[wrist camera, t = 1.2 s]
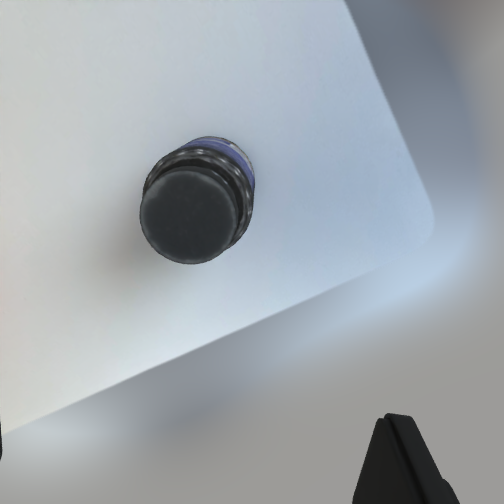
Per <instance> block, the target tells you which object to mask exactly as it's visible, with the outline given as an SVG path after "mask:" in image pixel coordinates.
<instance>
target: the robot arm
mask: <svg viewBox="0 0 504 504" xmlns="http://www.w3.org/2000/svg"><path fill="white" fill-rule="evenodd" d="M1 456H2V438H1V424H0V459H1ZM352 504H460V503H459V501H458V499H457V497H456V495H455V493H454V491H453V489H452V487H451V486H450V484H449V483H448V482H447V481H446V480H445V479H442V477H441V475H440V473H439V470H438V468H437V466H436V464H435V463H434V460H433V458H432V456H431V454H430V452H429V450H428V448H427V446H426V444H425V442H424V440H423V438H422V436H421V434H420V431H419V429H418V428H417V425H416V423H415V421H414V420H413V418H412V417H410V416H406V415H398V414H390V413H387V414H386V415H385V416H384V419H383V418H379V419H378V420H377V422H376V425H375V428H374V431H373V435H372V438H371V441H370V444H369V447H368V451H367V454H366V457H365V461H364V464H363V467H362V470H361V473H360V476H359V480H358V483H357V486H356V489H355V492H354V496H353V502H352Z"/></svg>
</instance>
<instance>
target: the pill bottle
mask: <svg viewBox="0 0 504 504" xmlns="http://www.w3.org/2000/svg"><path fill="white" fill-rule="evenodd" d="M254 188H255V178H254V171H253V168H252V165H251V162H250V161H249V159H248V157H247V156H246V154H245V153H244V152H243V151H242V150H241V149H240V148H239V147H238V146H237V145H236V144H234V143H233V142H230V141H228V140H226V139H224V138H218V137H201V138H197V139H195V140H193V141H191V142H189V143H187V144H185V145H184V146H182V147H180V148H178V149H177V150H175V151H173V152H171V153H169V154H168V155H166V156H164V157H163V158H162V159H161V160H159V161H158V162H157V163H156V165H155V166H154V167H153V169H152V171H151V172H150V173H149V174H148V177H147V178H146V181H145V184H144V188H143V197H142V202H141V206H140V224H141V226H142V231H143V233H144V235H145V237H146V239H147V241H148V242H149V243H150V245H151V246H152V247H153V248H154V249H155V250H156V251H157V252H158V253H159V254H161V255H163V256H164V257H165V258H167V259H169V260H172V261H174V262H177V263H182V264H199V263H204V262H207V261H210V260H212V259H214V258H215V257H217V256H219V255H220V254H221V253H222V252H223V251H225V250H226V249H228V248H230V247H231V246H233V245H234V244H235V243H236V242H237V241H238V240H239V239H240V238H241V237H242V235H243V234H244V233H245V231H246V230H247V227H248V225H249V223H250V219H251V216H252V211H253V202H254V201H253V200H254Z"/></svg>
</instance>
